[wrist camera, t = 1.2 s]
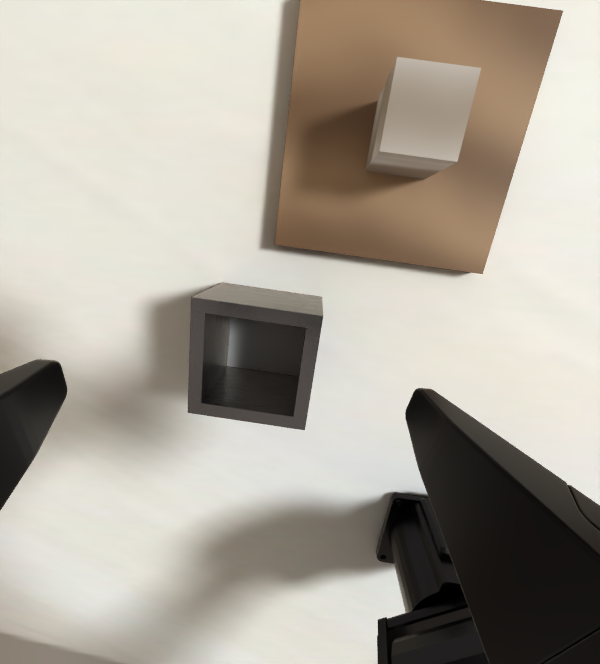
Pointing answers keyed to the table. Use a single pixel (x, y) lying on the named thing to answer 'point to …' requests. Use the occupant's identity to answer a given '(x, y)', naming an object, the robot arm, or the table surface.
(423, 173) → the post block
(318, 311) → the grey cube shelf
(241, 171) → the table surface
